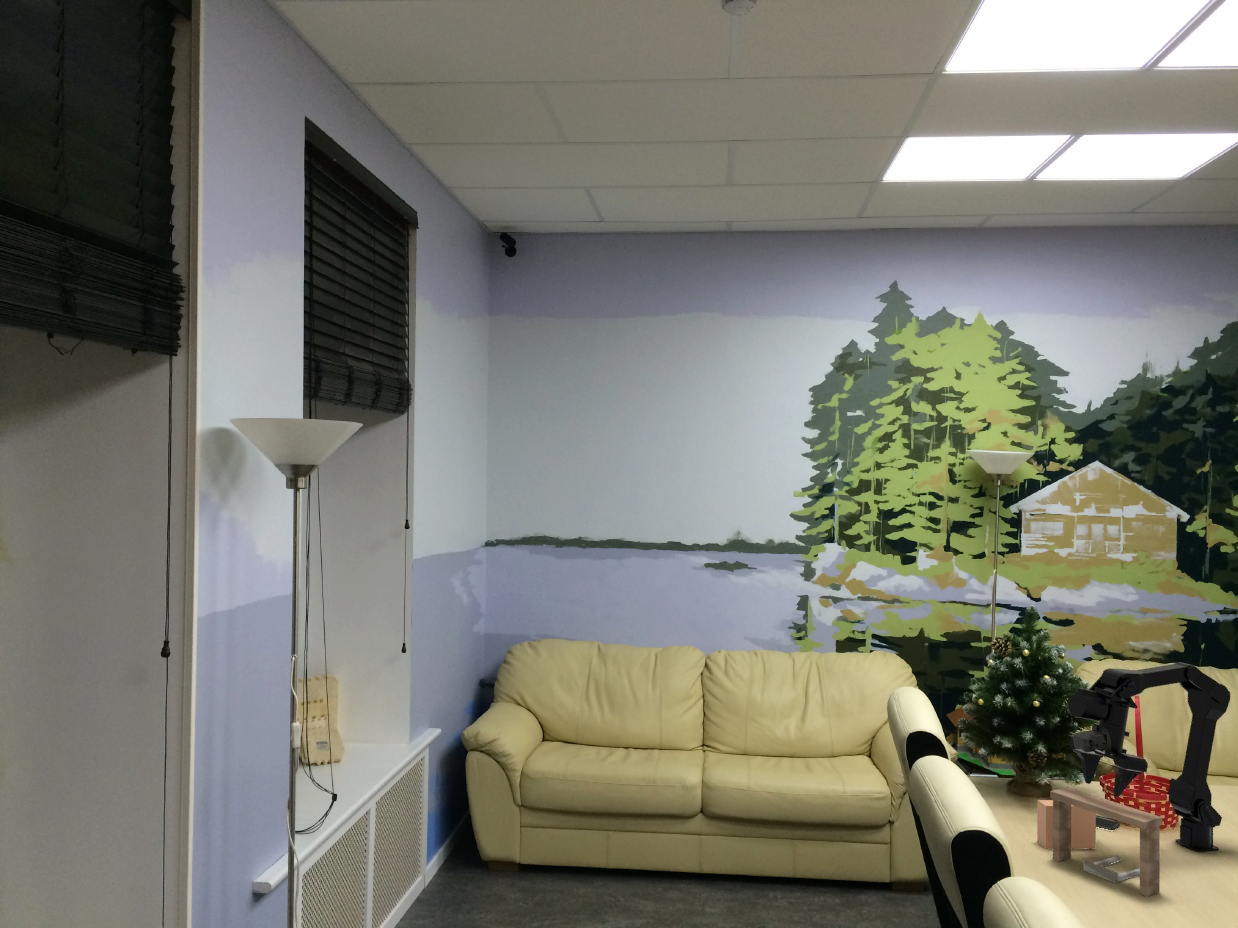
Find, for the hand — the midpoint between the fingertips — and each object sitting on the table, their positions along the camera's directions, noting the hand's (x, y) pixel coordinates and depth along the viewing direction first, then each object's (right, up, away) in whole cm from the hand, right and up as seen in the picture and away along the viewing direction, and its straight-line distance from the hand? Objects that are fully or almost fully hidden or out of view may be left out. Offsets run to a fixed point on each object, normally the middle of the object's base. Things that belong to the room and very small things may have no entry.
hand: (1101, 789), depth 208 cm
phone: (+7, -16, +20) cm, 27 cm away
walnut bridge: (-4, -14, -12) cm, 18 cm away
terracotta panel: (-7, -15, +3) cm, 16 cm away
